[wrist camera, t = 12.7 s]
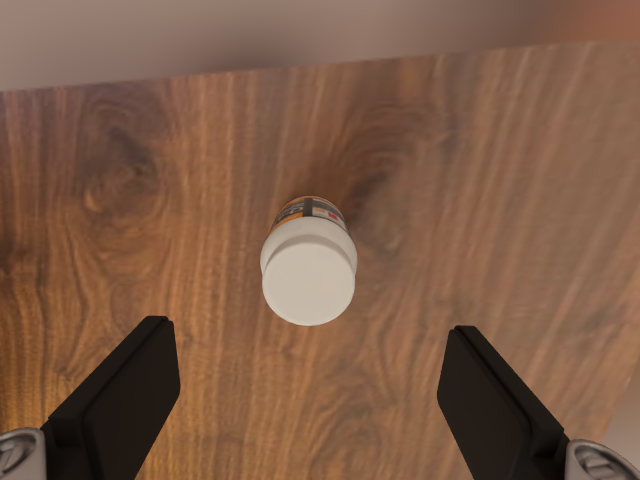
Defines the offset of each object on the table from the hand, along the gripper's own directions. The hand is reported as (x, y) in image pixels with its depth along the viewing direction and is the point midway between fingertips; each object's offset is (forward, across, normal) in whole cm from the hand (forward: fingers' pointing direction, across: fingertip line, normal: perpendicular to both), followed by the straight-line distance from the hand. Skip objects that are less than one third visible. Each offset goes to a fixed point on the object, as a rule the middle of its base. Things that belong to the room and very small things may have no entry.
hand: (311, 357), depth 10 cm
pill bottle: (+15, 0, 0) cm, 15 cm away
